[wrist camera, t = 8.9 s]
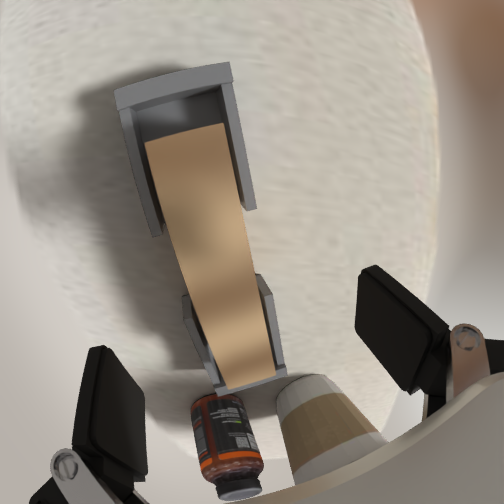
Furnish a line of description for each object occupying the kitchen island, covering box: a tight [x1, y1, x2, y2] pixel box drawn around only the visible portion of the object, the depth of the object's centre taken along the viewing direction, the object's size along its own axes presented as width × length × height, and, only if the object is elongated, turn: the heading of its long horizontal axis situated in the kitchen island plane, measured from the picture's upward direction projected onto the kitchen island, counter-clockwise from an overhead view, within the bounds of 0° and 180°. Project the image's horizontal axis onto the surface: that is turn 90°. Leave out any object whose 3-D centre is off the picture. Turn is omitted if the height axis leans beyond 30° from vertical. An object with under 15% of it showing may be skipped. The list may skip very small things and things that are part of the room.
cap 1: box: [114, 62, 257, 237], centre depth 14 cm, size 9×6×3 cm
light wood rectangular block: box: [144, 123, 276, 390], centre depth 16 cm, size 16×4×5 cm, turn 11°
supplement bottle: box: [191, 394, 264, 501], centre depth 21 cm, size 6×6×11 cm
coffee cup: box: [276, 374, 389, 485], centre depth 22 cm, size 11×11×15 cm
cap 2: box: [182, 274, 287, 397], centre depth 21 cm, size 9×6×3 cm
